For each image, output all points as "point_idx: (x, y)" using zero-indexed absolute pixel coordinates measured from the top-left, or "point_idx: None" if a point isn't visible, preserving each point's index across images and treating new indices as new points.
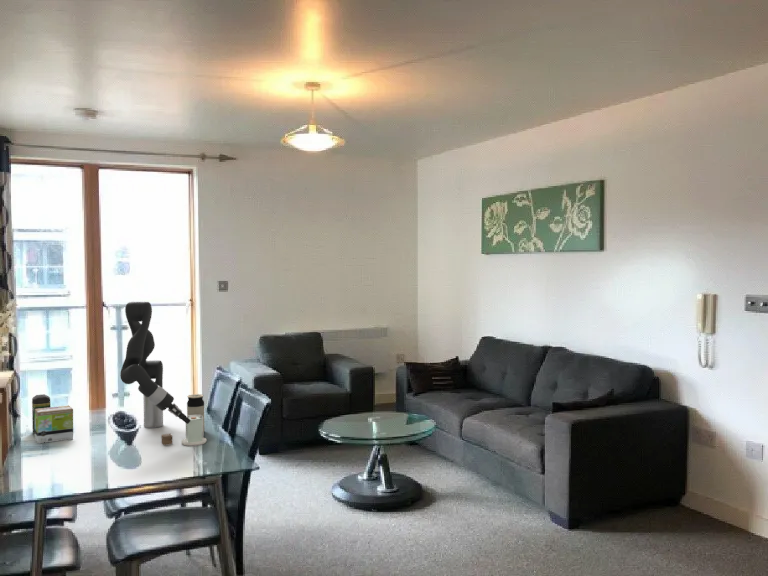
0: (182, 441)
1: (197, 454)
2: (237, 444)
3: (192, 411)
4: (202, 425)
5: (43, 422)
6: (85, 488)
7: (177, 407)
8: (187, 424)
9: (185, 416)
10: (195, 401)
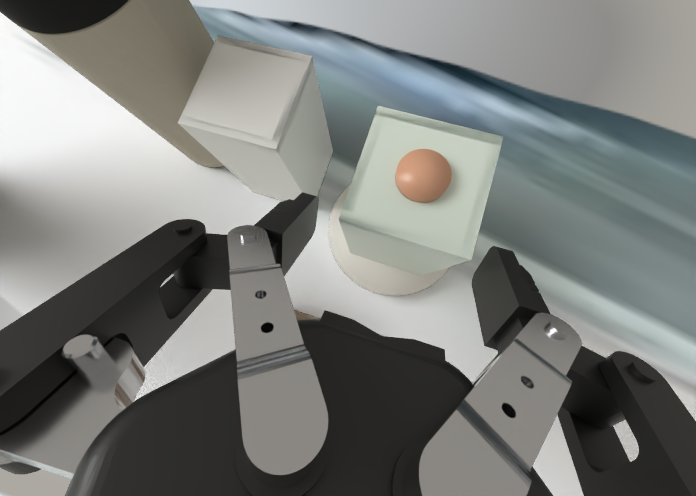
0: (373, 286)
1: (629, 337)
2: (574, 105)
3: (148, 56)
4: (321, 114)
5: None
6: None
7: (530, 457)
8: (423, 256)
9: (533, 304)
10: None
